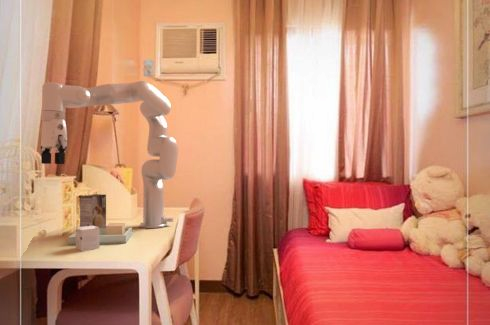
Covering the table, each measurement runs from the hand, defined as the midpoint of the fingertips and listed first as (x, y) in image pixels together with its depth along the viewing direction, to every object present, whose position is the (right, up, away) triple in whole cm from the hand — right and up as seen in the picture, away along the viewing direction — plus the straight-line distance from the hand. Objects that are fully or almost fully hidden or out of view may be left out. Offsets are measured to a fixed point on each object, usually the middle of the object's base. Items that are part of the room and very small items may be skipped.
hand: (52, 163), depth 118 cm
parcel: (+20, -30, +9) cm, 37 cm away
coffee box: (+5, -30, +20) cm, 37 cm away
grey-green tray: (+15, -30, +8) cm, 34 cm away
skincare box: (+15, -30, -4) cm, 34 cm away
